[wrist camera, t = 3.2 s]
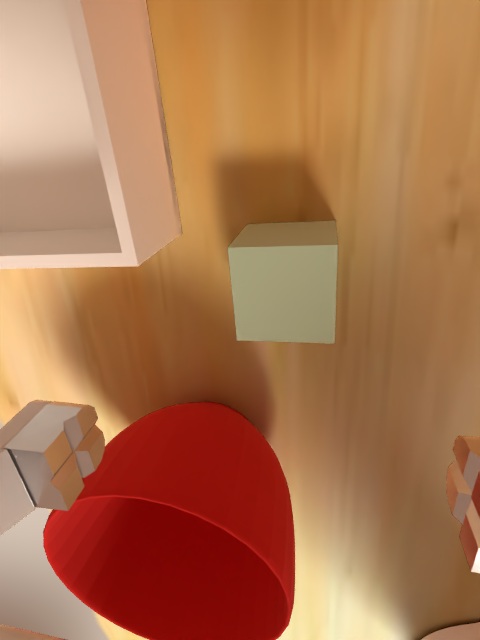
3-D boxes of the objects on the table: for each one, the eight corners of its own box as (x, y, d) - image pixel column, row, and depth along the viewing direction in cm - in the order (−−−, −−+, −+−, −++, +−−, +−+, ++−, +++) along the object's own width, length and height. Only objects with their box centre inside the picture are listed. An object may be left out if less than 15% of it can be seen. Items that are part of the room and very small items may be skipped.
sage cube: (336, 220, 19) (337, 245, 15) (333, 302, 21) (334, 343, 17) (247, 223, 20) (227, 247, 16) (253, 301, 22) (236, 340, 18)
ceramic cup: (152, 516, 33) (90, 655, 25) (115, 355, 26) (6, 473, 17) (299, 542, 31) (288, 708, 22) (308, 371, 23) (297, 521, 14)
